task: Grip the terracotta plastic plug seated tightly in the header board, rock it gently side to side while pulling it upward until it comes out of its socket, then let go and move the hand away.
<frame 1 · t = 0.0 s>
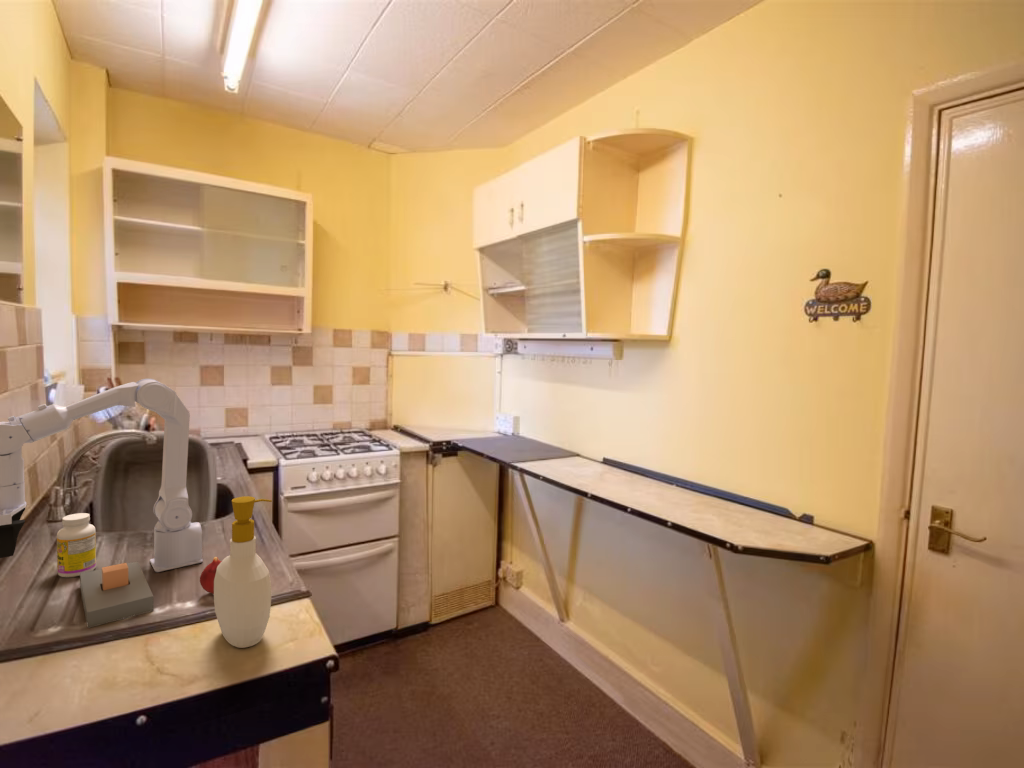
hand: (6, 550, 102), 10 cm above the countertop, tool pointing down, fingers open, 7 cm apart
supplement bottle: (77, 572, 115), on the countertop
plug: (115, 581, 104), point 4 cm above the countertop, slide at 0.0 cm, touching header
header: (115, 598, 105), on the countertop
soap bottle: (244, 637, 94), on the countertop
onion: (216, 594, 108), on the countertop
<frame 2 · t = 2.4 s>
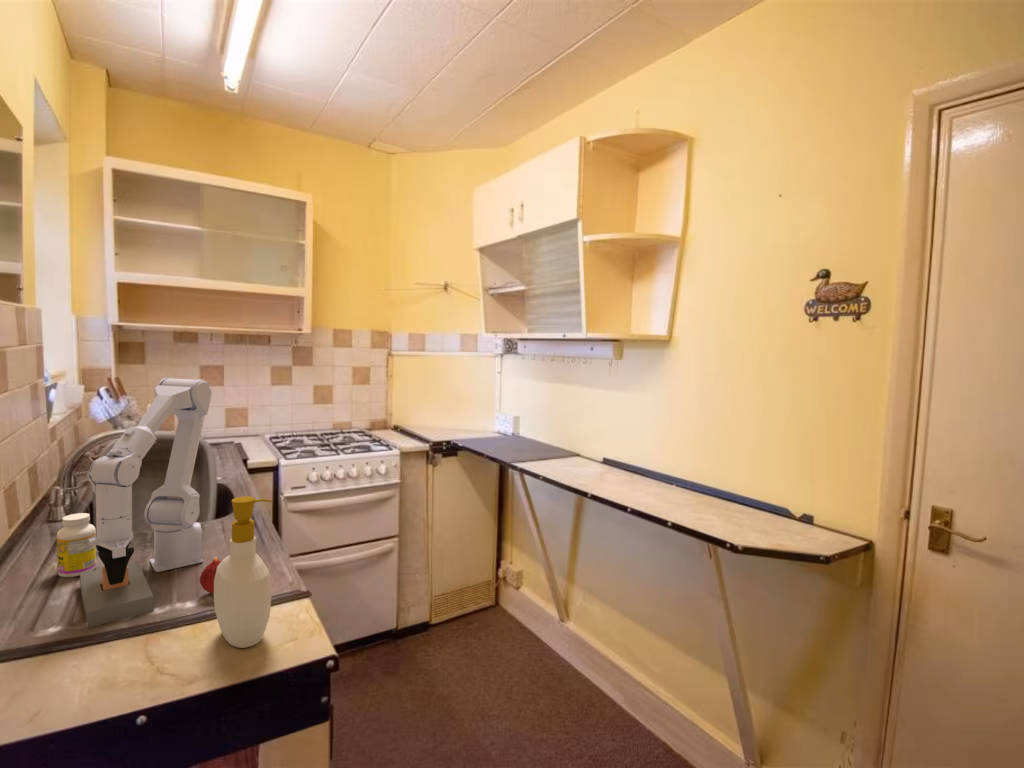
hand: (115, 579, 104), 4 cm above the countertop, tool pointing down, fingers closed on plug, 3 cm apart
plug: (115, 581, 104), point 3 cm above the countertop, slide at 0.0 cm, touching gripper, header
everything else where it was.
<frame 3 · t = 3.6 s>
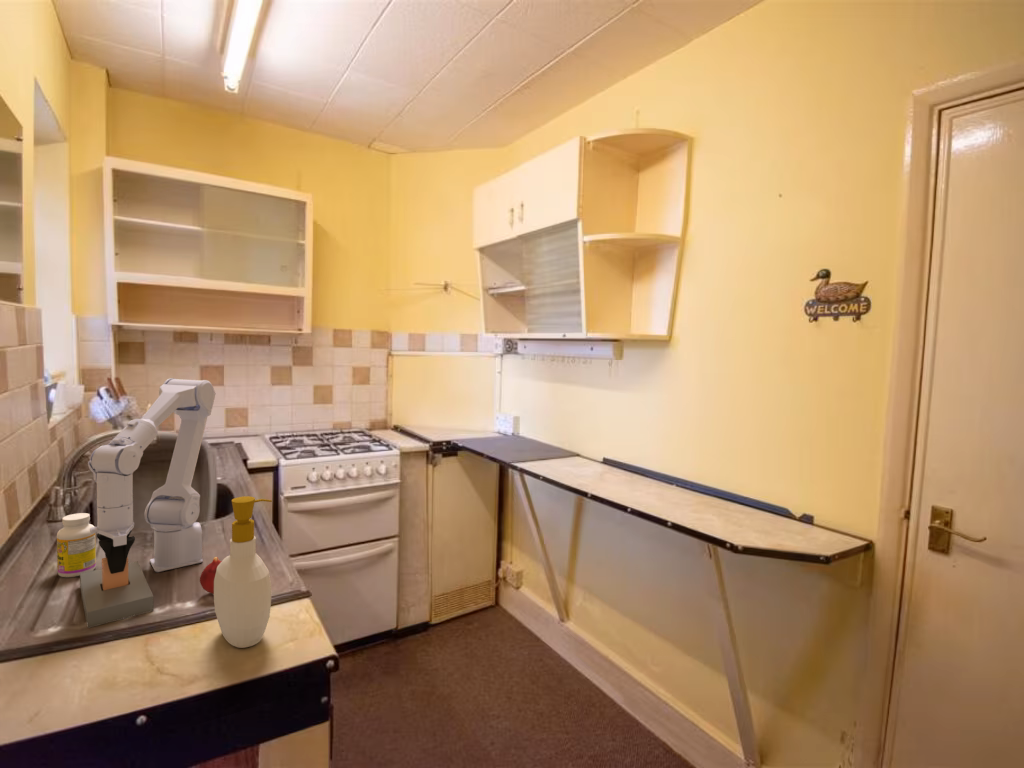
hand: (116, 568, 104), 6 cm above the countertop, tool pointing down, fingers closed on plug, 3 cm apart
plug: (115, 572, 104), point 5 cm above the countertop, slide at 1.9 cm, touching gripper
everything else where it was.
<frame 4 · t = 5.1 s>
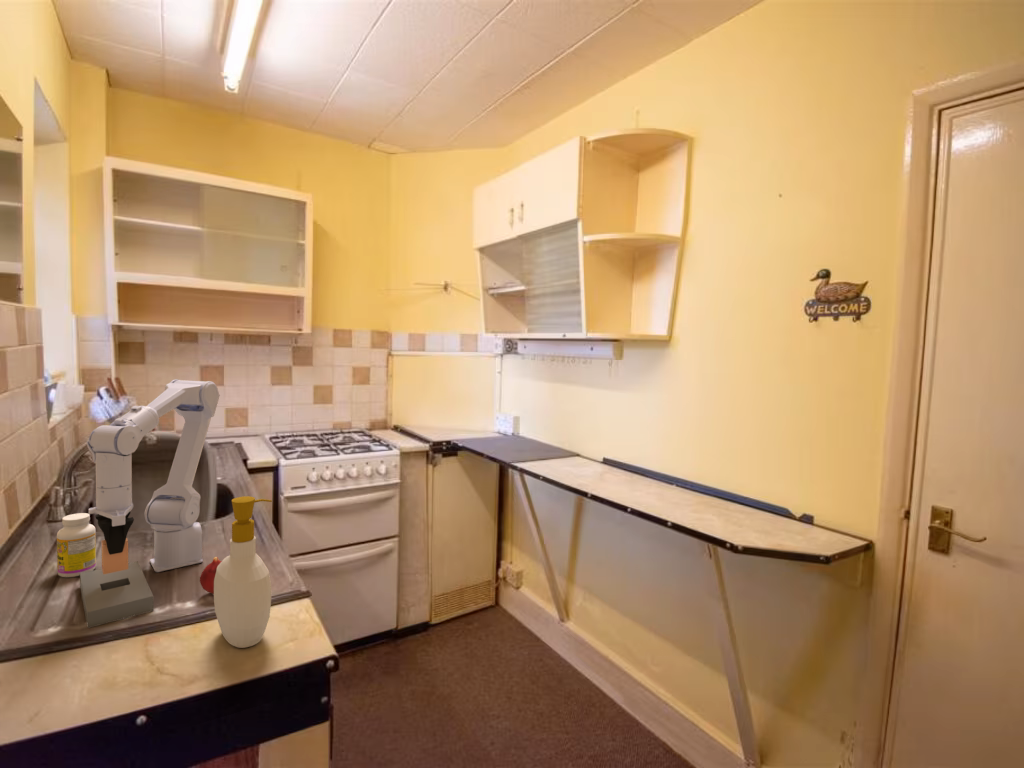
hand: (114, 550, 104), 10 cm above the countertop, tool pointing down, fingers closed on plug, 3 cm apart
plug: (114, 554, 104), point 9 cm above the countertop, slide at 5.7 cm, touching gripper
everything else where it was.
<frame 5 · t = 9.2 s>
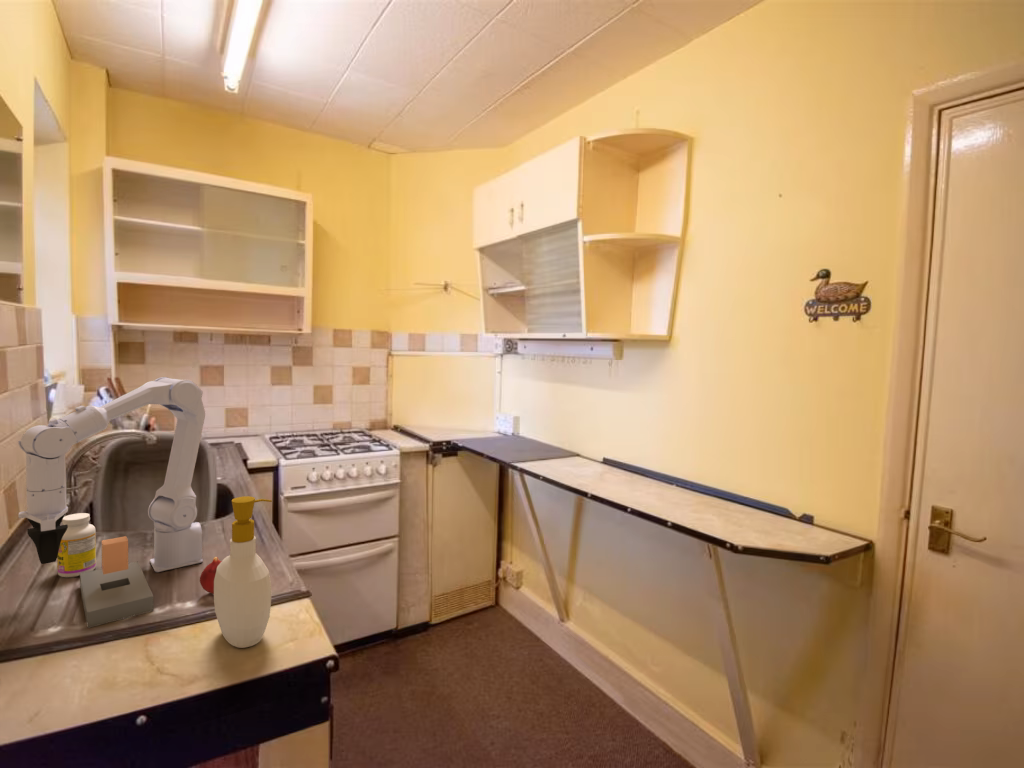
hand: (48, 555, 100), 10 cm above the countertop, tool pointing down, fingers open, 7 cm apart
plug: (114, 554, 104), point 9 cm above the countertop, slide at 5.7 cm
everything else where it was.
at the end: plug slide at 5.7 cm; the gripper is holding nothing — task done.
